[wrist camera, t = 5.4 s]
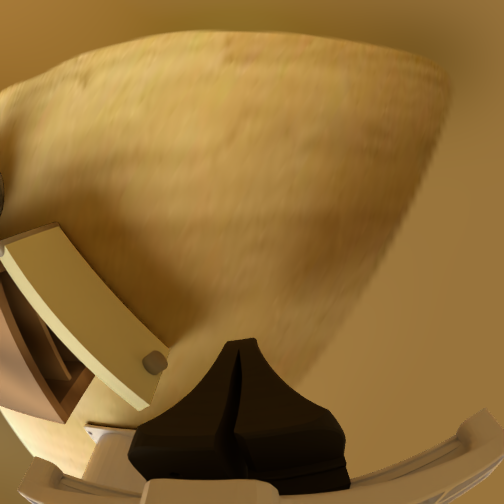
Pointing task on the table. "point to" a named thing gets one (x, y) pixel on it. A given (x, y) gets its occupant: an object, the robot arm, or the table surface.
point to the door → (85, 313)
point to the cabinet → (35, 361)
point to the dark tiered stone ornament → (1, 193)
